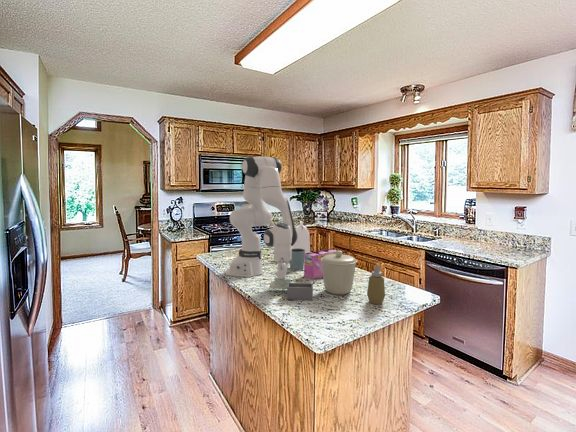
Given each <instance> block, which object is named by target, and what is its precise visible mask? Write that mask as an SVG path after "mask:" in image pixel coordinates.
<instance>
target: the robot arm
mask: <svg viewBox="0 0 576 432" xmlns="http://www.w3.org/2000/svg"><path fill="white" fill-rule="evenodd" d="M282 165H283V164H282V162H281V160H280V159H279V158H277V157H275V156H274V157H271V156H270V157H269V156H265V155H264V156H248V157H245V158H243V160H242V164H241V170H242V172H243V174H244V175H245V176H244V185H243V195H242V196H243V199H244V200H245V201H246V202H247V203H248V204H251V207H249V208H247V207H246V208H245V207H244V208H238V209H235V210H234V209H233V210H232V211H231V213H230V214H229V222H230V225H232V227H234V228H236V230H238V232H239V233H240V237H241V248H239V251H238V256H236V257H235V258H234V259H233V260H232V261H231V262H230V264H229V267H228V269H226V270H225V271H224V272H225V275H226V276H233V277H244V278H245V277H246V278H250V277H255V276H259V275H262V274H263V273H264V270H263V266H262V257H263V256H262V249H261V246H262V245H261V241H262V240H263V243H264V245H266V246H267V247H268V248H274V249H273V260H274V261H276V264H277V278H278V279H280V283H281V285H284V279H285V278H287V277H286V276H287V271H288V266H289V264H290V260H291V259H292V246H293V245H294V244H295V242H296V241H297V238H298V236H297V232H296V227H295V223H294V219H293V214H292V210H291V205H290V202H289V200H288V198H287V197H285V195H284V193H283V191H282V190H283V189H282V184H281V183H282V181H281V176H280V173H281V172H282ZM265 204H266V205H269V206H271V207H274V208H276V209H277V210H279V212H280V214H281V217H282V222H283V223H282V222H281V223H276V224H275V225H274V226H273V227H271V228H269V229H266V230H265V231H264V232H263V237H262V240H261V236H260V234H258V233H257V232H255V231H253V227H263V226H265V225H266V226H267V225H269V224H270V223H271V221H272V216H273V215H272V212H271V211H270V209H268V208H267V206H266V205H265Z"/></svg>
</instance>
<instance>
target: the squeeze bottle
mask: <svg viewBox="0 0 576 432" xmlns="http://www.w3.org/2000/svg"><path fill="white" fill-rule="evenodd" d="M385 287H386V286H385V278H384V276H383V272H382V271H380V264H378V263H376V264H375V267H374V270H372V271H371V276H369V277H368V284H367V292H366V294H367V295H366V296H367V298H368V302H369V303H370V304H372V305H382V304H383V302H384V300H385V297H386V291H385Z"/></svg>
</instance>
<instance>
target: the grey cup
mask: <svg viewBox="0 0 576 432" xmlns="http://www.w3.org/2000/svg"><path fill="white" fill-rule="evenodd" d="M291 249H292V248H291ZM304 253H305V250H304V249H298V248H295V249H292V259H291V260H290V261H289V269H290V270H291V271H302V270H303V271H304Z"/></svg>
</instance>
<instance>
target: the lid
mask: <svg viewBox="0 0 576 432" xmlns="http://www.w3.org/2000/svg"><path fill="white" fill-rule="evenodd" d="M288 283H296V281H292V279H291V277H285V279H284V285H281V283H280V279H278V277H274V281H271V282H270V283H269V289H272V290H274V289H275V290H287V285H288Z"/></svg>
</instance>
